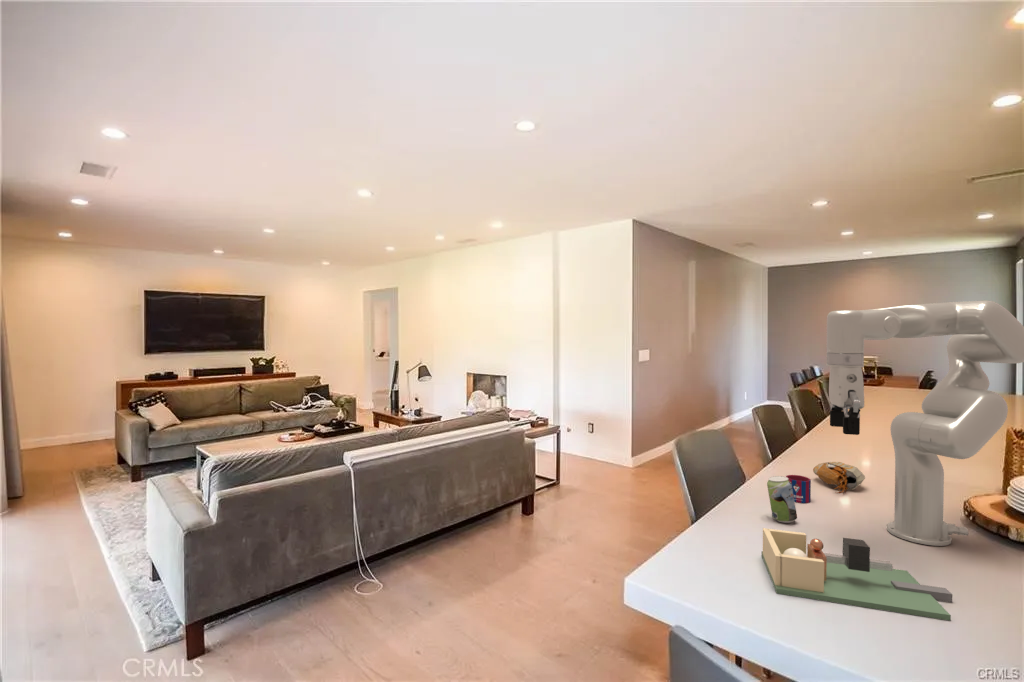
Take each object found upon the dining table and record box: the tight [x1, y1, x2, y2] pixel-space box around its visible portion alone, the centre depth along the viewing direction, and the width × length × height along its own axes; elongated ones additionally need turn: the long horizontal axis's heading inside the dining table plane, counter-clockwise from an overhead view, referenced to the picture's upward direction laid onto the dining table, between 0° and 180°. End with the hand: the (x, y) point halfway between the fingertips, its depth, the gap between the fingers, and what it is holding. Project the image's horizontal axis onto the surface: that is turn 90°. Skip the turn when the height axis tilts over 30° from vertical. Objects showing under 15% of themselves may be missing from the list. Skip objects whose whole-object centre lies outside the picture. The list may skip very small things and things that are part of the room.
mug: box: [785, 474, 812, 504], centre depth 149 cm, size 7×10×7 cm
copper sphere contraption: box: [806, 537, 893, 581], centre depth 98 cm, size 14×6×8 cm, turn 71°
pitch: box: [761, 527, 953, 621], centre depth 98 cm, size 32×17×7 cm, turn 71°
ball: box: [783, 548, 808, 558], centre depth 101 cm, size 5×5×5 cm
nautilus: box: [812, 461, 866, 495], centre depth 160 cm, size 8×22×15 cm
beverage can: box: [766, 475, 798, 524], centre depth 131 cm, size 6×7×12 cm
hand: (844, 430), depth 116 cm, fingers open, 9 cm apart
